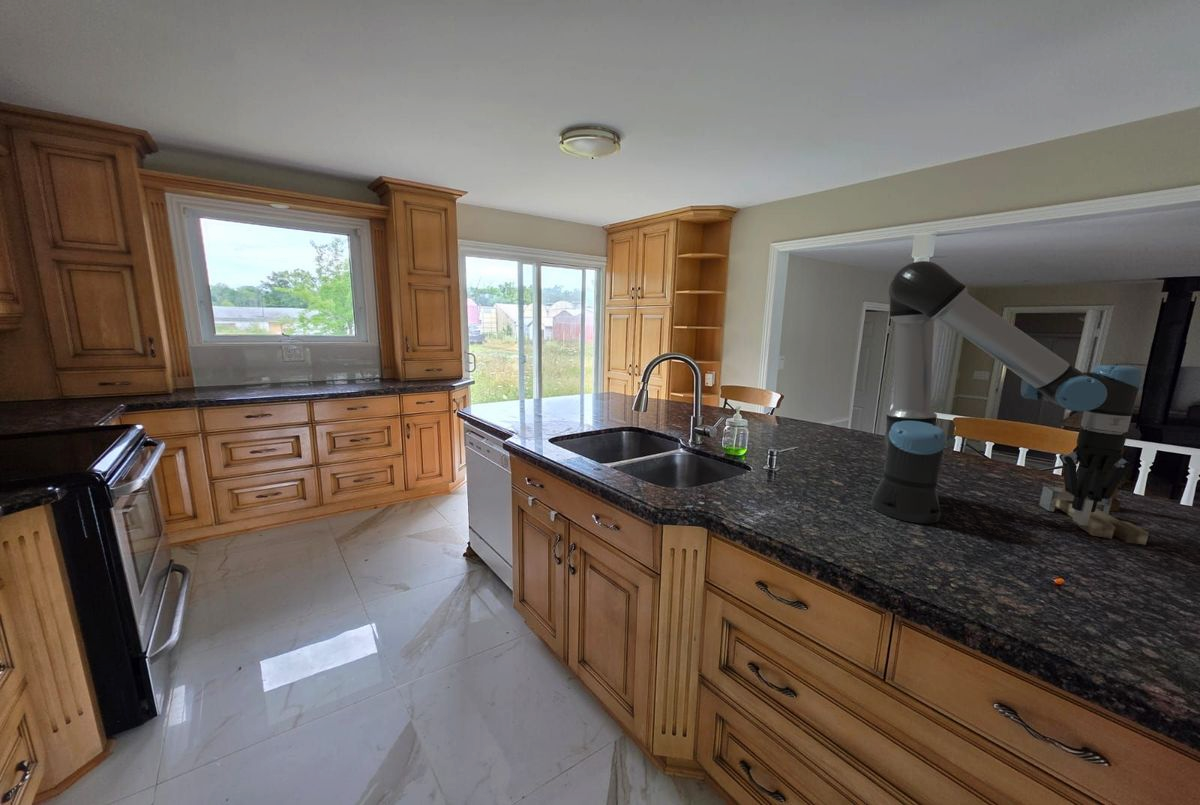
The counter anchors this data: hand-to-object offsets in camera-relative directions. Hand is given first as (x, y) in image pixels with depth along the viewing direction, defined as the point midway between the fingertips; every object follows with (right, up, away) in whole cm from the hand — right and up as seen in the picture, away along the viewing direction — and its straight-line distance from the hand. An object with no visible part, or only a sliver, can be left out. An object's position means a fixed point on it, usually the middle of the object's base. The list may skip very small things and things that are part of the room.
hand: (1079, 522), depth 110 cm
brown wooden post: (+23, 0, +16) cm, 28 cm away
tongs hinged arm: (+7, 0, +6) cm, 9 cm away
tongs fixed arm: (+9, -1, +5) cm, 11 cm away
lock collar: (+9, 0, +11) cm, 14 cm away
